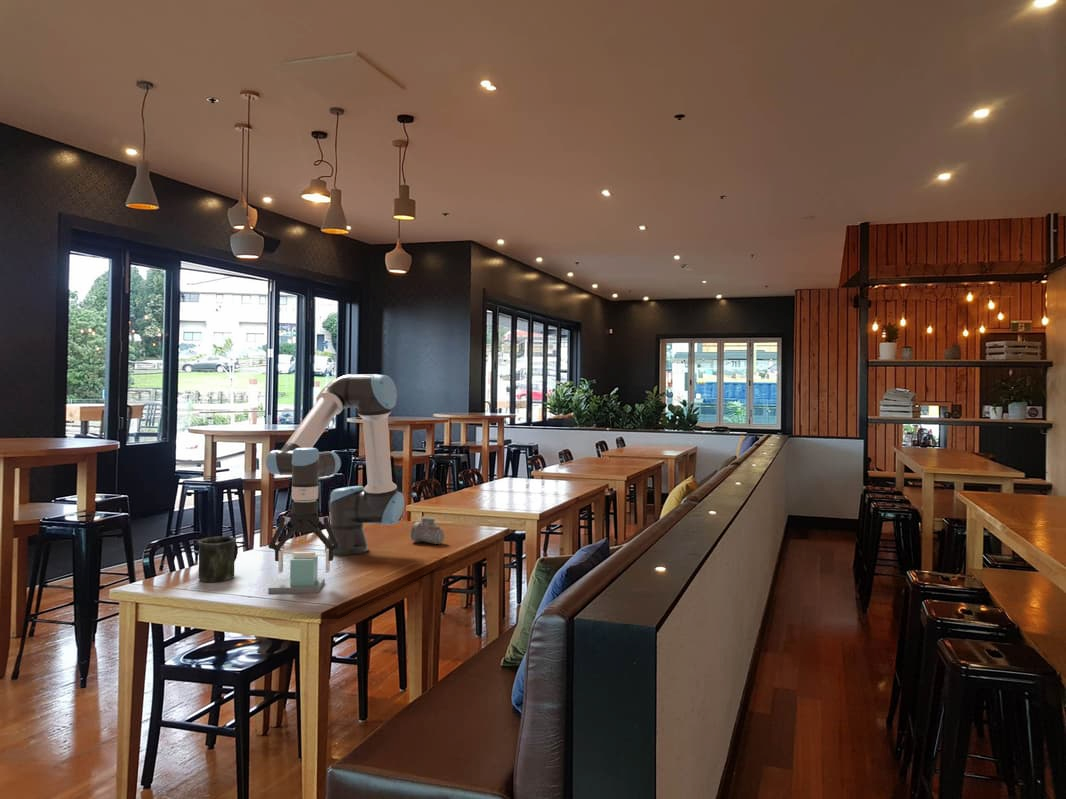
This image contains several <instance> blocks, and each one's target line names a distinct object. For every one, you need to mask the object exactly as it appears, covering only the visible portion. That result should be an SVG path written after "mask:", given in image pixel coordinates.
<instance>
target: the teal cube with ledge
mask: <svg viewBox="0 0 1066 799" xmlns="http://www.w3.org/2000/svg"><path fill="white" fill-rule="evenodd" d="M292 554H293V557H292V558H291V559H290V560H289V561H290V565H289V566H290V572H289V573H290V576H289V578H290V586H313V585H314V584H315V583H316V581H317V578H318V559H319V558H318V557H319V554H316V551H293V553H292Z"/></svg>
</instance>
